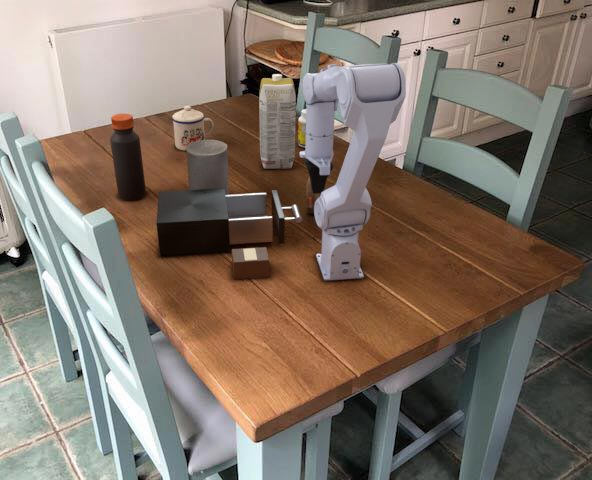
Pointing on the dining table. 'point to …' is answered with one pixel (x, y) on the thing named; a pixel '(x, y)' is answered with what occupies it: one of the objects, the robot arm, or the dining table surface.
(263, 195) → the drawer
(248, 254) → the packet
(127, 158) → the vinegar
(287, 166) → the juice carton
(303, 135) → the supplement bottle
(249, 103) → the dining table surface
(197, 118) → the teacup with lid
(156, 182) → the dining table surface
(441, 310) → the dining table surface
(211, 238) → the black box
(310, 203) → the tin
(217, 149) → the pillar candle
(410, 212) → the dining table surface
